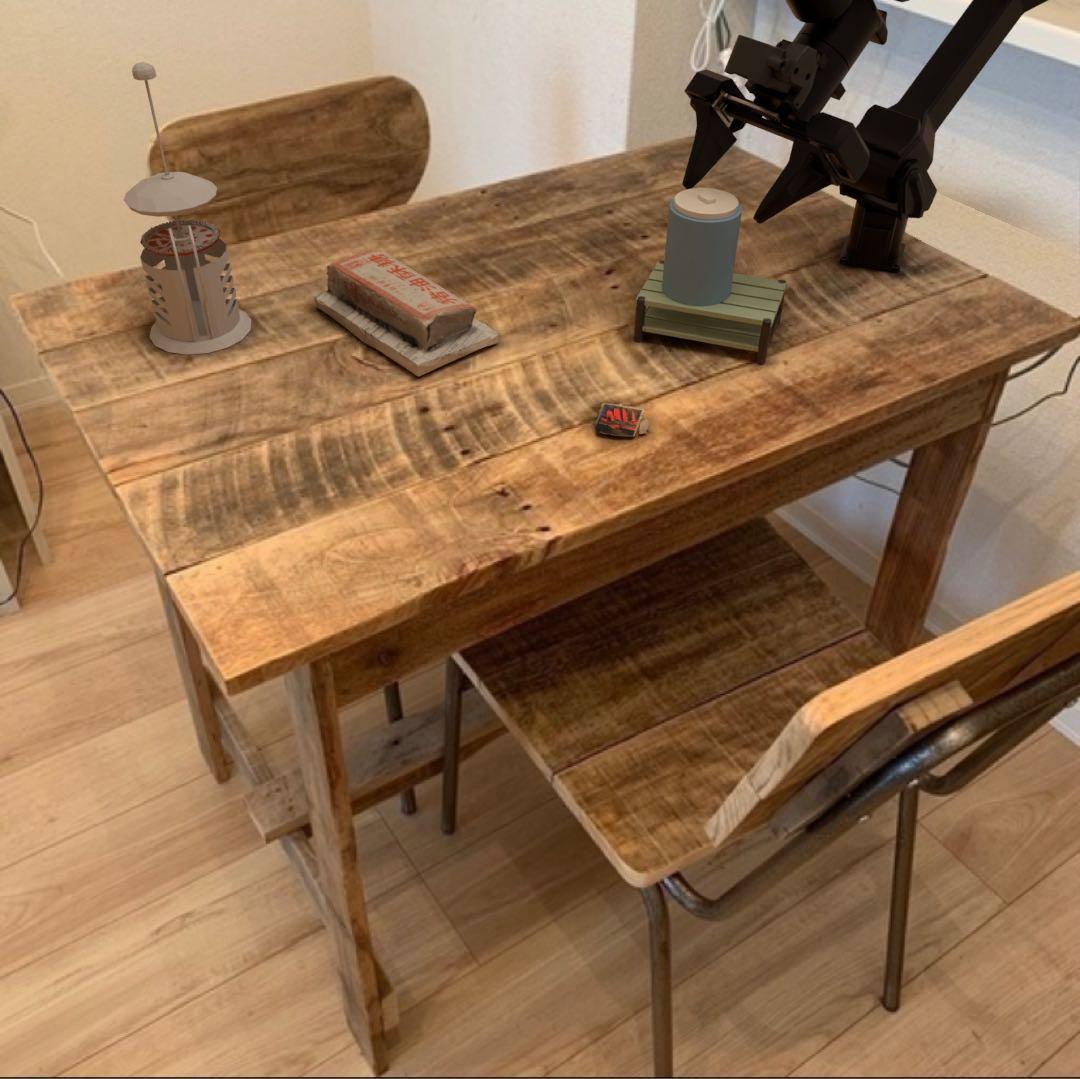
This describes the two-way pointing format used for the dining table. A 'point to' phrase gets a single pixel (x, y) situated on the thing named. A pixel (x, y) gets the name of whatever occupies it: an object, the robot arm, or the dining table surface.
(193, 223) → the french press
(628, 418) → the matchbox
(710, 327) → the rack
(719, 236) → the tissue tub
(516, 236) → the dining table surface
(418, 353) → the packaged product
